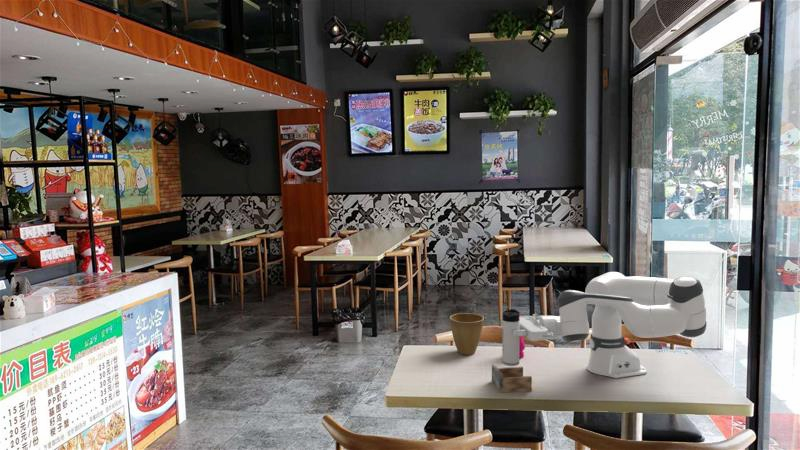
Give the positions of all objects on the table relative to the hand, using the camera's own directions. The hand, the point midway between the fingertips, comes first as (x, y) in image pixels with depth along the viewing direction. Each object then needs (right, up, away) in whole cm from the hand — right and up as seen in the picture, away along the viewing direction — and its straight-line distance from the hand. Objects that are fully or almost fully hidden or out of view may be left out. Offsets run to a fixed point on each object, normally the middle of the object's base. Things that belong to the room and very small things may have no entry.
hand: (509, 329), depth 225 cm
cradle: (+1, -22, +3) cm, 22 cm away
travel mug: (+1, -13, +2) cm, 13 cm away
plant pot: (-11, -18, +42) cm, 47 cm away
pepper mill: (+10, -18, +36) cm, 42 cm away
